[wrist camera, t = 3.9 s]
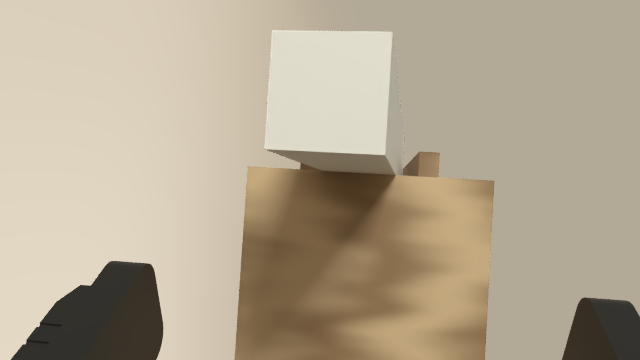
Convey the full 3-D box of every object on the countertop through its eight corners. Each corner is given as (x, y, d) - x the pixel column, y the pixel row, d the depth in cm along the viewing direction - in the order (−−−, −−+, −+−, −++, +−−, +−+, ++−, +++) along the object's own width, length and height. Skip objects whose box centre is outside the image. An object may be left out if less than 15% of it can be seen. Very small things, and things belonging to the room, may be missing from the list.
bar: (401, 185, 36) (404, 139, 36) (385, 155, 14) (392, 31, 14) (355, 183, 37) (357, 137, 37) (264, 149, 14) (272, 30, 14)
